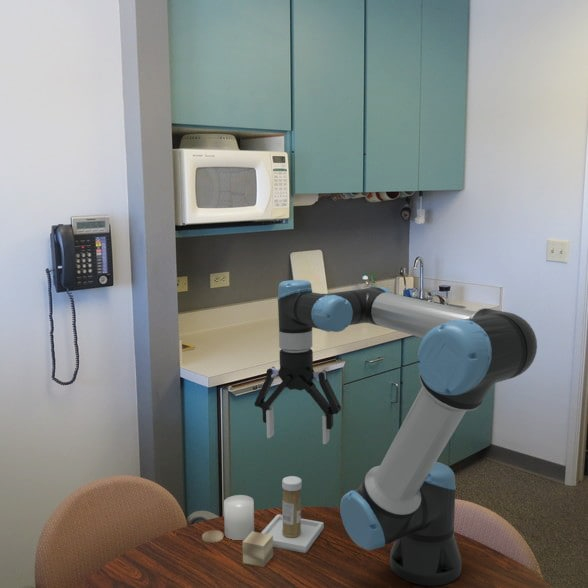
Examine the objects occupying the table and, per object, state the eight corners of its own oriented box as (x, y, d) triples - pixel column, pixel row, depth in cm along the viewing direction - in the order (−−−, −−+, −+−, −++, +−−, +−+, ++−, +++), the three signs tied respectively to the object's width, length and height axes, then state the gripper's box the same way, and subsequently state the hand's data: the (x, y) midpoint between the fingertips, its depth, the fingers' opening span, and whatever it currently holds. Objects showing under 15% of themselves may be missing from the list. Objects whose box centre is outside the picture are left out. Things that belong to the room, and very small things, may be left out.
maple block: (273, 556, 154) (272, 535, 153) (263, 567, 149) (263, 546, 149) (252, 552, 156) (252, 531, 155) (243, 563, 151) (242, 541, 151)
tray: (323, 528, 166) (323, 522, 166) (305, 553, 155) (305, 546, 155) (277, 520, 170) (277, 514, 170) (257, 543, 159) (257, 537, 159)
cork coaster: (221, 532, 165) (221, 529, 165) (225, 542, 161) (225, 539, 161) (201, 534, 164) (200, 531, 164) (203, 545, 159) (203, 541, 159)
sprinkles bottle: (304, 535, 162) (305, 480, 160) (288, 540, 159) (289, 485, 157) (294, 526, 166) (294, 473, 163) (277, 531, 163) (278, 477, 161)
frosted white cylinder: (246, 543, 160) (245, 510, 158) (219, 537, 162) (218, 505, 161) (261, 526, 167) (260, 495, 166) (235, 521, 170) (234, 491, 169)
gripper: (353, 348, 155) (354, 439, 158) (251, 342, 164) (254, 428, 167) (344, 355, 148) (345, 450, 151) (238, 349, 157) (241, 439, 160)
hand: (297, 439), depth 159 cm, fingers open, 13 cm apart
